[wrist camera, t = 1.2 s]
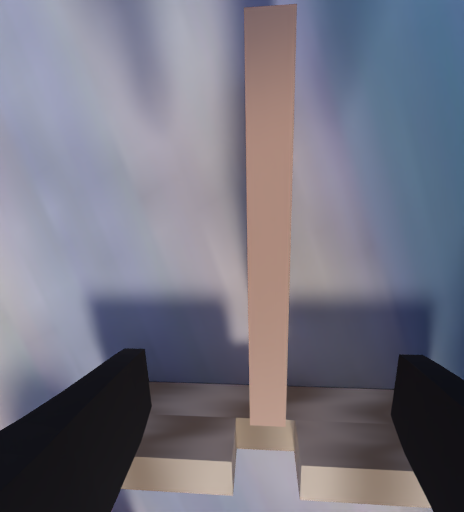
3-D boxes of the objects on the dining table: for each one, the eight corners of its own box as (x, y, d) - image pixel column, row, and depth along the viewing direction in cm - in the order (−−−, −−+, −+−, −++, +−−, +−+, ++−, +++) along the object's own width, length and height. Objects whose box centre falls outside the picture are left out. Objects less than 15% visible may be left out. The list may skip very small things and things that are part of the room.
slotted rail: (427, 390, 18) (488, 475, 13) (422, 419, 19) (478, 510, 14) (114, 380, 20) (68, 453, 15) (119, 407, 20) (75, 486, 15)
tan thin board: (279, 75, 14) (296, 3, 7) (275, 323, 18) (285, 426, 11) (251, 77, 14) (244, 7, 7) (253, 323, 18) (249, 425, 11)
